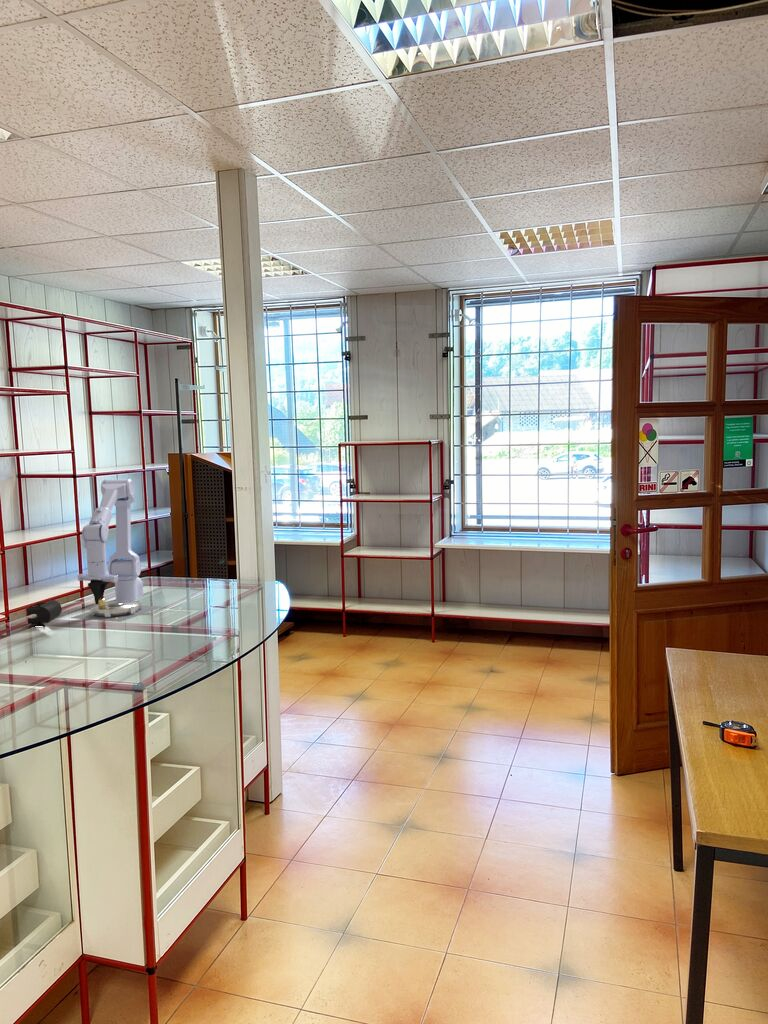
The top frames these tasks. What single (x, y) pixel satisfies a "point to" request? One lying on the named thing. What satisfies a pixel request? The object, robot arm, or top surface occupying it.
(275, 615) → the top surface
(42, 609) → the electric motor
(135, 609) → the lugged metal disc
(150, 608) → the base plate
